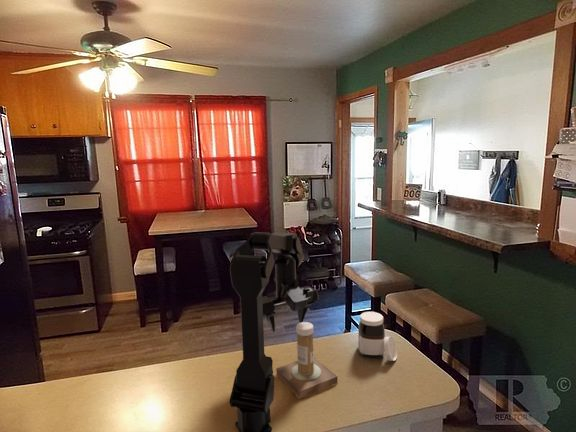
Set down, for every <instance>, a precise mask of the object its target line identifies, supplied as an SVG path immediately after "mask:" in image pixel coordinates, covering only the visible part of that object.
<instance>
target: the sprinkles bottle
mask: <svg viewBox="0 0 576 432" xmlns="http://www.w3.org/2000/svg"><path fill="white" fill-rule="evenodd" d="M295 328H296V329H295V330H296V331H295V332H296V341H297V342H296V348H297V349H296V350H297V353H296V354H297V361H298V372H299V374H301V375H305V376H307V375H311V374H312V373H313V372H314V357H315V355H314V332H315V331H314V324H312V323H311V322H309V321H308V322H307V321H303V322H301V323H297V324H296V327H295Z"/></svg>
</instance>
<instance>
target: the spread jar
mask: <svg viewBox="0 0 576 432" xmlns="http://www.w3.org/2000/svg"><path fill="white" fill-rule="evenodd" d="M359 316H360V317H359V322H358V328H357V329H358V335H357V336H358V341H357V342H358V343H357V344H358V345H357V346H358V347H357V348H358V352H359V354H360V355H362V356H363V357H365V358H369V359H379V358H380V357H382V356H384V355H385V357H386V360H388V361H390V362H394V361H396V360H397V358H398V347H397V346H398V345H397V342H396V340H395V338H394V337H393V336H392V335H391V336H386V331H385V329H386V328H385V325H384V316H383V315H382V314H381V313H379V312H376V311H364V312H362V313H361V314H360V315H359Z"/></svg>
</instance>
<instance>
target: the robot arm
mask: <svg viewBox="0 0 576 432" xmlns="http://www.w3.org/2000/svg"><path fill="white" fill-rule="evenodd" d="M255 250H257V251H258V250H259V251H268V255H267V257H266V256H265V255H255V254H254V255H253V254H252V253H253V252H254V251H255ZM273 253H276V254H277V253H278V255H277V257H276V258H275V257H274V254H273ZM279 253H280V254H279ZM251 254H252V255H251ZM274 258H275V259H274ZM304 259H305V253H304V252H303V248H302V244H301V241H300V237H299V236H298V234H297V233H296V232H285V231H284V232H283V231H282V232H280V231H275V232H273V233H270V232H258V231H254V232H252V233H250V234H249V237H248V239H247V240H246V241H245V242H243V244H241V245H240V246H239V247H237V248H236V249H235V251H234V253H233V255H232V257H231V259H230V262H229V267H228V271H229V274H230V280H231V286H232V288H233V289H234V290H235V292H236V293H237V295H238V296H239V299H240V300H239V301H240V321H241V324H240V325H241V343H242V344H241V345H242V346H241V347H242V361H241V362H240V363H239V365H238V367H237V369H236V371H235V373H236V374H235V375H234V379H233V384H232V388H231V393H230V397H229V401H228V402H229V406H230V407H231V408H236V410H237V411H236V412H237V413H236V414H237V421H235V422H234V425H235V428H236V429H237V431H238V432H272V431H273V427H272V426H271V425H270V424H271V406H272V404H273V401H274V394H275V380H276V379H275V375H274V370H273V366H274V365H273V358H272V357H271V356H267V355H266V354H265V338H264V337H265V335H264V317H265V320H266V321H267V323H268V326H269V327H270V329H271V331H272V332H273V333H274V332H275V331H276V324H275V322H276V321H275V315H276V312H275V308H276V306H279V305H282V304H287V305H288V307H289V309H290V310H291V311H293V312H296V311H297V318H298V322H299V323H301V322H304V320H305V317H306V314H307V312H308V309H309V307H310V306H311V305H313V304H315V302H316V301H319V292H318V290H317V289H314V288H313V287H311V286H310V285H307V286H301V287H300V283H299V280H298V279H297V269H298V268H299V266H300V265H301V264H302V263H303V261H304ZM274 265H275V266H274ZM274 267H275V277H274V278H273V282H275V290H274V292H273V294H274V296H275V298H269V297H268V296H267V295H264V296H263V292H264V291H265V290H266V288H267V285H268V284H269V282H270V276H271V273H272V271H273V268H274ZM299 323H298V324H299Z"/></svg>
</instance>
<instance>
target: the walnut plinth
mask: <svg viewBox="0 0 576 432" xmlns="http://www.w3.org/2000/svg"><path fill="white" fill-rule="evenodd" d="M275 371H276V376H277V377H278V378H279V379H280V380H281V381H282V382H283V383H284V384H285V386H287V388H288V389H289V390H290V391H291V392H292V393H293V394H294V395H295V396H296V397H297V398H298V399H299V400H300V399H302V398H303V399H304V398H305V397H308V396H310V395H312V394H315V393H317V392H320V391H322V390H324V389H327V388H330V387H331V386H333V385H337V384H338V375H336V374H335V373H334V372H333V371H332V370H330V369H329V368H328V367H327V366H326V365H324V363H322V362H321V361H320V360H318V359H317V358H316V357H315V356H314V372H313V373H312V374H311V375H307V376H305V375H301V374H299V372H298V360H296V361H293V362H291V363H287V364H284V365H281V366H279V367H276V370H275Z"/></svg>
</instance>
